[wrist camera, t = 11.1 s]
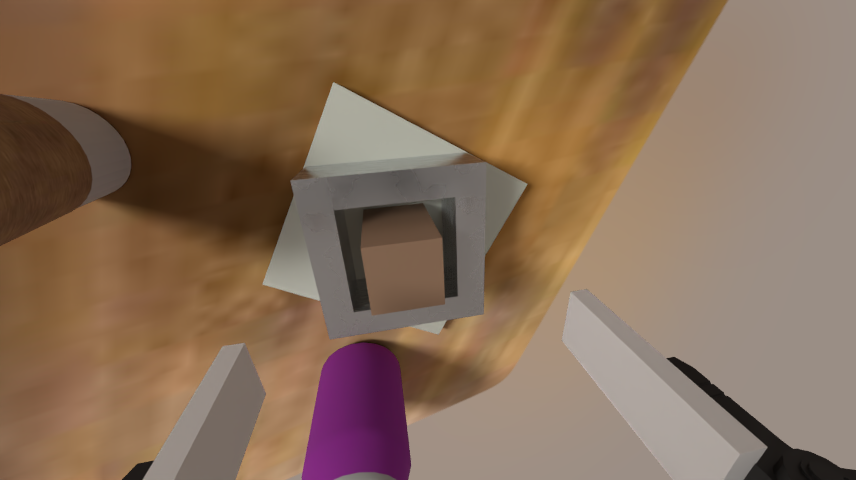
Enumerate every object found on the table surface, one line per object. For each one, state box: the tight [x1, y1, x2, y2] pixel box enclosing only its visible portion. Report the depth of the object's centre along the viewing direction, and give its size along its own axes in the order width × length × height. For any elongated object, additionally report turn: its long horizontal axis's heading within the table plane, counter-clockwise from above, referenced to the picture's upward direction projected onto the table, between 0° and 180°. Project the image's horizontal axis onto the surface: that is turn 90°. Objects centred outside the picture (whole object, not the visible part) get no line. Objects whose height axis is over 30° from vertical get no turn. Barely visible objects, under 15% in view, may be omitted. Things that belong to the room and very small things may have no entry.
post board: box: [263, 82, 527, 334], centre depth 22 cm, size 16×16×8 cm
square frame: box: [290, 152, 486, 339], centre depth 22 cm, size 12×12×4 cm
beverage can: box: [302, 343, 411, 480], centre depth 25 cm, size 8×8×12 cm
